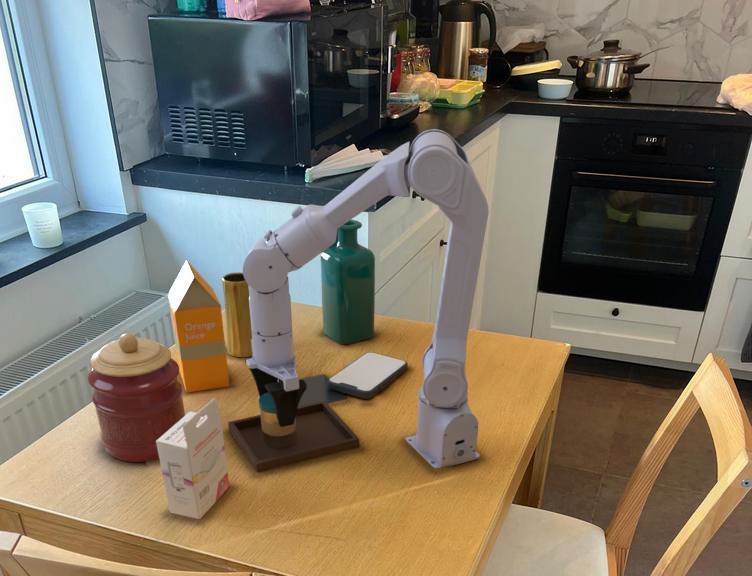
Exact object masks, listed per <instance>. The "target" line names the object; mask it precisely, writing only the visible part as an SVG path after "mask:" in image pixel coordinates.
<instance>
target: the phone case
mask: <svg viewBox="0 0 752 576" xmlns="http://www.w3.org/2000/svg"><path fill="white" fill-rule="evenodd" d="M408 364H409V363H408V362H407V361H406V360H404V359H400V358H397V357H393V356H389V355H385V354H381V353H377V352H373V351H369V352H368V351H367V352H365V353H364V354H362V355H361V356H359V357H358V358H356V359H355V360H354V361H351V362H350V364H347V365H346V366H344V367H343V368H342V369H340V370H339V371H338V372H336V373H335V374H333V375H332V376H331V377H328V378H329V379H328V380H327V387H328V388H329V389H332V390H335V391H339V392H342V393H343V394H346V395H350V396H353V397H356V398H359V399H364V400H366V399H372V398H373V397H374V396H376V395H377V394H378V393H379V392H381V390H383V389H384V388H386V387H387V386H388V385H389V384H390V383H392V382H393V381H395V379H397V378H398V377H400V376H401V375H402V374H403V373H404V372H406V371H407V370H408V367H409V365H408Z"/></svg>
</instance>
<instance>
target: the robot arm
mask: <svg viewBox="0 0 752 576" xmlns="http://www.w3.org/2000/svg"><path fill="white" fill-rule="evenodd" d="M411 189H412V190H413V191H414V192H415V194H417V195H418V196H420V197H421V198H423V199H424V200H426V201H428V202H430V203H432V204H434V205H436V206H438V209H440V210H441V212H442V213H444V215H445V216H446V218H448V219H449V220H450V222H449V228H448V234H447V241H446V248H445V254H444V255H445V256H444V265H443V270H442V275H441V276H442V277H441V283H440V290H439V297H438V302H437V303H438V304H437V312H436V318H435V324H434V325H435V326H434V329H433V331H432V336H431V341H430V343H429V346H428V347H427V349H426V350H425V351H424V353H423V356H422V368H423V382H422V385H421V386H420V388H419V390H418V399H417V419H416V434H415V435H410V436H407V437H405V438H404V439H405V441H406V442H407V443H408V444H409V445H410V446H411V447H412V448H413V449H414V450H415V451H416V452H417V453H418V454H419V455H420V456H421V458H423V459H424V460H425V461H426V463H428V464H429V465H430V466H431V467H432V468H433V469H435V470H436V469H441V468H444V467H448V466H450V467H453V466H456V465H461V464H464V463H468V462H470V461H471V462H472V461H474V460H478V459H480V458H481V454H480V453H479V452H478V451H477V443H478V432H479V421H478V418H477V417H476V415H475V414H474V413H473V411H472V410H471V408H470V405H469V393H468V392H469V391H468V390H469V383H468V380H467V373H466V360H467V345H468V344H467V343H468V335H469V330H470V323H471V318H472V311H473V306H474V301H475V294H476V288H477V283H478V278H479V277H478V276H479V271H480V266H481V260H482V254H483V247H484V241H485V236H486V230H487V225H488V220H489V219H488V218H489V204H488V199H487V197H486V195H485V192H484V190H483V189H482V187H481V184H480V182H479V180H478V177H477V175H476V173H475V171H474V169H473V167H472V164H471V162H470V160H469V158H468V155H467V153H466V151H465V149H464V148H463V147H462V146H461V145H460V144H459V143H458V142H457V141H456V140H455V138H453V136H451V135H450V134H449V133H448V132H446V131H444V130H442V129H437V128H433V129H427V130H424V131H423V132H421V133H419V134H418V135H417V136H416V137H415V138H414V139H413V141H412V143H410V141H407V142H405V143H404V144H401V145H399V146H398V147H397V148H395V149H394V150H393V151H391V152H390V153H389V154H387V155H385V156H384V157H383V158H382V159H380V160H379V161H378V162H377V163H375V164H374V165H373V166H371V168H369V169H368V170H367V171H366V172H364V173H363V174H362V175H361V176H359V177H358V178H357V179H356V180H354V181H353V182H352V183H351V184H350V185H348V186H346V188H344V189H343V190H342V191H341V192H340V193H339V194H337V195H336V196H335V197H333V198H332V199H331V200H329V202H328V203H326V204H325V205H317V204H307V205H306V206H305V207H302V206H301V205H298V206H297V207H295V208H294V209H293V210H292V211H291V213H290V215H291V218H290V219H288V220H287V221H285V222H284V223H282V225H280V226H279V227H278V228H276V229H275V230H274V231H272V230H271V229H269V230H267V231H266V232H265V233H264V234H263V238H260V239H258V240H256V241H255V242H254V244H253V245H252V246H251V248H250V250H249V252H248V253H247V255H246V256H245V258H244V260H243V264H242V273H243V276H244V278H245V280H246V282H247V283H248V285H249V296H250V297H249V306H250V318H251V330H252V339H251V346H252V352H253V356H250V357H246V358H245V359H244V363H245V364H246V366H247V368H248V369H249V371H250V373H251V375H252V377H253V380H254V383H255V386H256V389H257V392H258V395H259V397H260V396H262V395H263V394H265V393H267V392H269V394H270V396H271V398H272V400H273V403H274V406H275V411H276V416H277V420H278V423H279V425H280V426H281V427H285V426H289V425H293V424H294V421H295V417H296V412H297V408H298V404H299V401H300V399H301V397H302V395H303V393H304V392H305V390H306V388H307V384H306V383H305V381H304V380H303V378H301V379H302V380H299V379H300V376H299V375H298V373H297V368H296V367H297V364H296V355H295V353H294V335H293V319H292V318H293V317H292V300H291V298H292V297H291V294H290V284H289V282H290V281H289V275H288V274H289V273H291V272H295V271H298V270H300V269H301V268H302V267H304V266H305V265H307V264H308V263H309V262H311V261H312V260H314V259H315V258H316V257H317V256H319V255H321V253H322V252H323V251H324V250H326V249H327V248H329V247H330V246H331V245H333V244H334V243H335V241H336V235H337V229H338V228H339V227H341V226H342V225H344V224H345V223H347V222H348V221H350V220H354V218H355V217H357V216H358V215H360V214H361V213H363V212H365V211H366V210H368V209H370V207H372V206H373V205H375V204H377V203H378V202H380V201H381V200H383V199H384V198H385V197H388V196H393V197H402V198H410V197H411Z"/></svg>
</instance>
